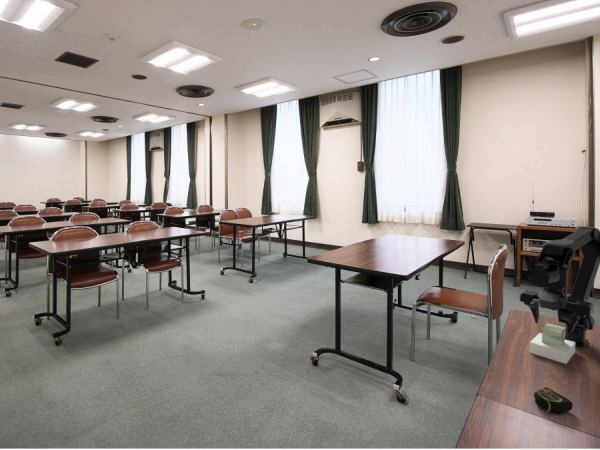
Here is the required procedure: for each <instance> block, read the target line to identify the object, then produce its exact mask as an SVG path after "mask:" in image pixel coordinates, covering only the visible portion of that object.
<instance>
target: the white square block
mask: <svg viewBox="0 0 600 450" xmlns="http://www.w3.org/2000/svg"><path fill="white" fill-rule="evenodd" d="M528 352H529V353H530V354H533V355H536V356H539V357H543V358H546V359H549V360H552V361H555V362H558V363H562V364H565V365H567V364H568V362H569V361H570V360H571V358H572V357H573V356H574V354H575V353H576V345H575V342H572V341H569V340H565V342H564V343H563V345H562V346H561V347H557V346H553V345H550V344H547V343H543V342H542V332H539V333H538V334H537V335H536V336H534V337H533V339H532V340H530V341H529V351H528Z"/></svg>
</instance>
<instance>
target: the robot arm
mask: <svg viewBox="0 0 600 450" xmlns="http://www.w3.org/2000/svg"><path fill="white" fill-rule="evenodd" d="M579 249H580V251H581V253H582V256H583V257H582V261H581V263H580V265H579V270H578V271H577V275H576V277H575V281H574V285H573V286H572V290H571V293H570V295H567V292H568V287H569V285H568V281H569V280H568V279H569V267H571V266H572V264H571V263H572V261H573V259H574V258H575V257H576V251H578V250H579ZM537 263H538V264H537ZM599 267H600V229H599V228H597V227H594V226H579V227H578V228H577V230H575V231H574V232H572V233H570V234H569V235H567V236H565V237H564V238H561V239H553V240H550V241H547V242H546V243H544V245H543V246H542V249H541V251H540V252H539V256H538V258H537V260H536V267H535V268H532V270H530V272H529V276H528V277H529V280H530V282H531V283H532V284H533V285H534V286H536V287H539V288H540V287H541V288H542V287H543V290H542V292H541V293H540V295H539V292H538V291H535V290H529V289H528V290H525V291H523V292H521V293H520V295H519V302H522V303H523V305H526V306H527V307H528V308H529V309H530V311H531V314H532V317H533V319H534V322H535V324H539V319H540V308H541V309H548V310H551V311H556V313H557V318H558V322H559V323H563V324H565V325H564V328H566V329H565V340H569V341H572V342H575V346H577V347H582V348H585V347H586V345H587V344H588V343H589V339H586V338H587V337H586V336H587V331H593V330H594V327H595V322H596V321H595V319H594V317H593V316H592V314H593V313H594V310H595V305H594V303H592V302H590V301H589V297H590V295H591V291H592V288H593V286H594V283H595V279H596V277H597V273H598V270H599Z"/></svg>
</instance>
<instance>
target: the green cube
mask: <svg viewBox="0 0 600 450" xmlns="http://www.w3.org/2000/svg"><path fill="white" fill-rule="evenodd" d="M565 329H566V328H565V326H564V327H563V326H561V325H560V326H559V325H556V324H552V323H549V322H547V323H546V324H545V325H544V326H543V327H542V329H541V330H542V332H541V333H542V342H543V343H547V344H550V345H553V346H557V347H561V346H562V345H563V343H564V342H565Z"/></svg>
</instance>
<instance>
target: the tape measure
mask: <svg viewBox="0 0 600 450" xmlns="http://www.w3.org/2000/svg"><path fill="white" fill-rule="evenodd" d="M533 396H534V403H535V405H536V406H537V407H539V408H540V409H541V410H543V411H545V412H546V413H550V414H553V415H564V414H566V413H567V412H569V411H572V409H573V407H574V406H573V402H572V401H571V399H569V398H567V397H566V396H564V395H561V394H560V393H558V392H556V391H554V390H553V389H551V388H549V387H547V386H546V387H544V388H539V389H536V391H535V392H534V393H533Z"/></svg>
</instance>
